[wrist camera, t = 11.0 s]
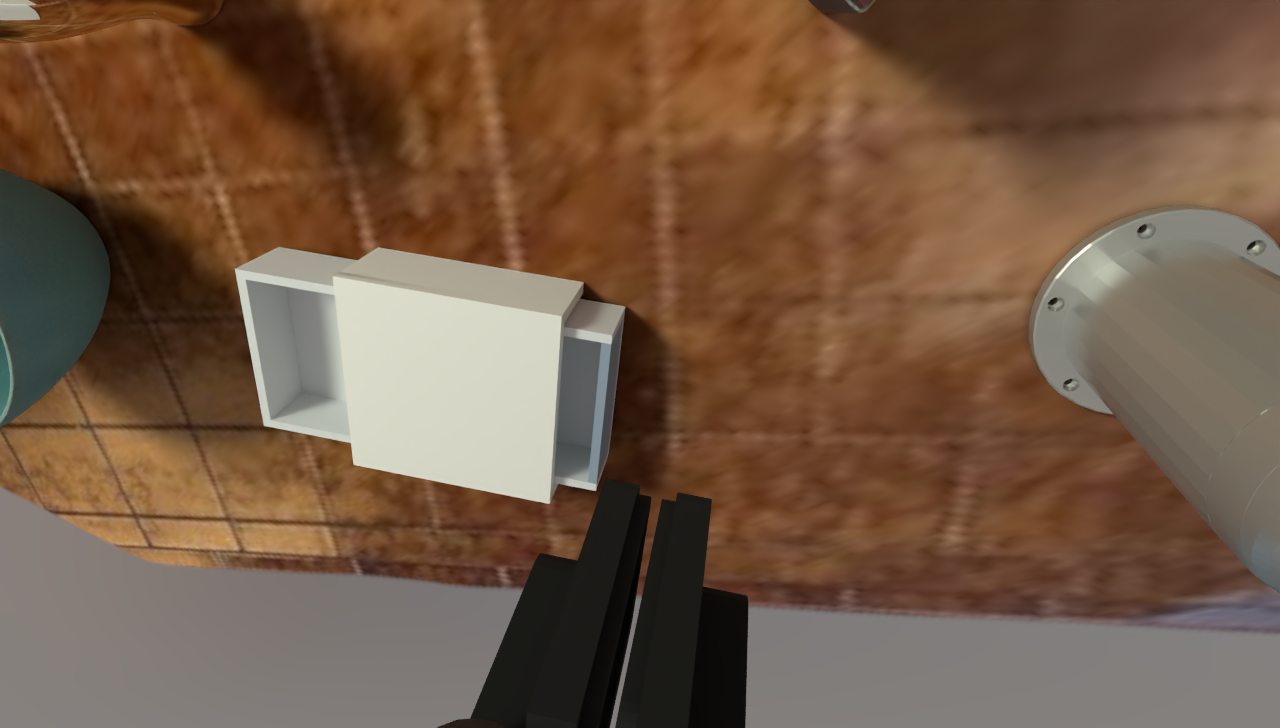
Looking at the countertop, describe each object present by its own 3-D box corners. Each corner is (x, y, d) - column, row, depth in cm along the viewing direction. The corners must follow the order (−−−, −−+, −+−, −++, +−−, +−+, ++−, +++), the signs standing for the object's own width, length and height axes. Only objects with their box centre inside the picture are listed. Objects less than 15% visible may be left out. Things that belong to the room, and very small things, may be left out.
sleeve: (583, 282, 44) (561, 316, 39) (569, 456, 50) (549, 503, 46) (378, 247, 45) (332, 276, 40) (391, 422, 52) (353, 464, 47)
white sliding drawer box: (625, 306, 44) (612, 335, 40) (608, 453, 50) (595, 491, 46) (279, 246, 46) (235, 268, 42) (301, 394, 52) (264, 425, 48)
